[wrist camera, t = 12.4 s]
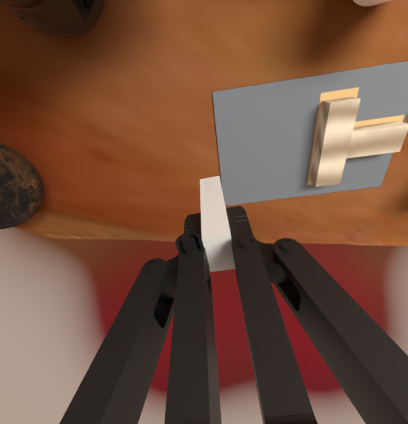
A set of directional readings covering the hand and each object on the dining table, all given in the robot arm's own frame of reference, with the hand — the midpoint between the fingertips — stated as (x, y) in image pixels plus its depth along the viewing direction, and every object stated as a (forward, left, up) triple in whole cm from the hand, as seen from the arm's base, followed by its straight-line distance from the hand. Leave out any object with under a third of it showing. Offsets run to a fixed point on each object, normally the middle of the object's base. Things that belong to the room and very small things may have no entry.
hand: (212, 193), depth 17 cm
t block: (+7, +29, -28) cm, 41 cm away
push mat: (+7, +20, -28) cm, 35 cm away
